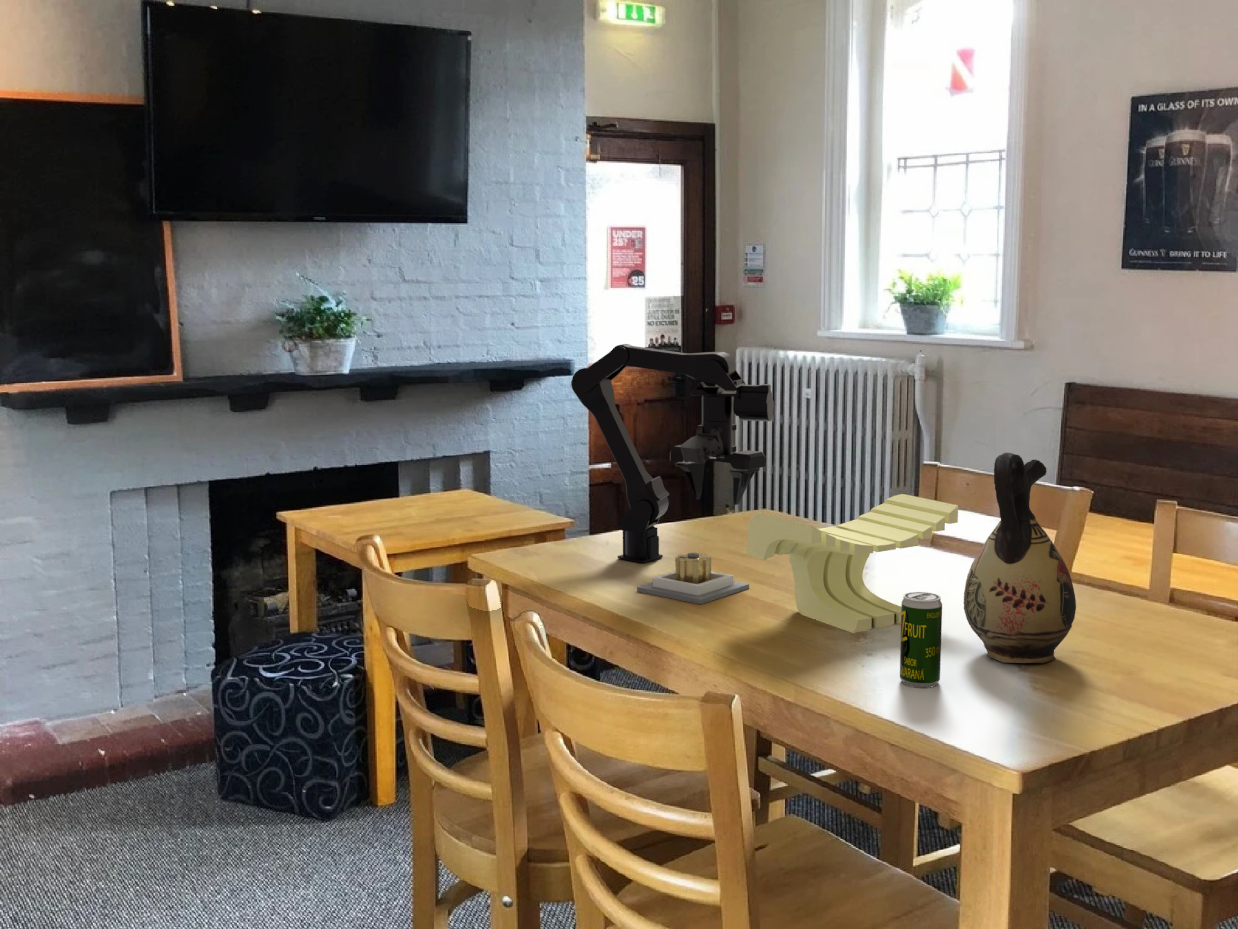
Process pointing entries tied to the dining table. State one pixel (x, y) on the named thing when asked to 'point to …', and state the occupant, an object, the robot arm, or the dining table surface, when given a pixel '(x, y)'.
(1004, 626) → the ceramic jug
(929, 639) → the green soda can
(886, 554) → the dining table surface
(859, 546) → the slatted curved stool
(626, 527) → the robot arm
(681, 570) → the gear
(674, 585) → the carrier plate
